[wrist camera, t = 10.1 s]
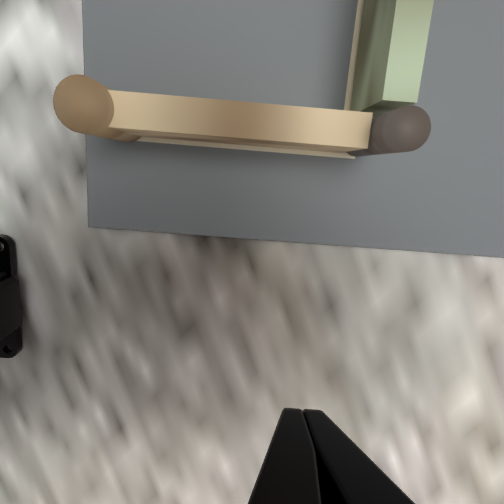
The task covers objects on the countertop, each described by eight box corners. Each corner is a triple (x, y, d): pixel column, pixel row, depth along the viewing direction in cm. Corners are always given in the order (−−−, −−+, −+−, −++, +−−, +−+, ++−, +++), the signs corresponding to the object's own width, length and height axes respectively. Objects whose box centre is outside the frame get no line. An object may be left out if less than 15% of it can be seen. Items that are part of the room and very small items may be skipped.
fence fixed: (107, 141, 16) (41, 128, 11) (107, 99, 16) (37, 65, 11) (368, 162, 17) (425, 159, 12) (374, 121, 16) (436, 100, 11)
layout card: (91, 225, 18) (87, 227, 17) (79, -274, 13) (72, -290, 13) (577, 261, 19) (586, 264, 18) (715, -199, 14) (731, -212, 14)
